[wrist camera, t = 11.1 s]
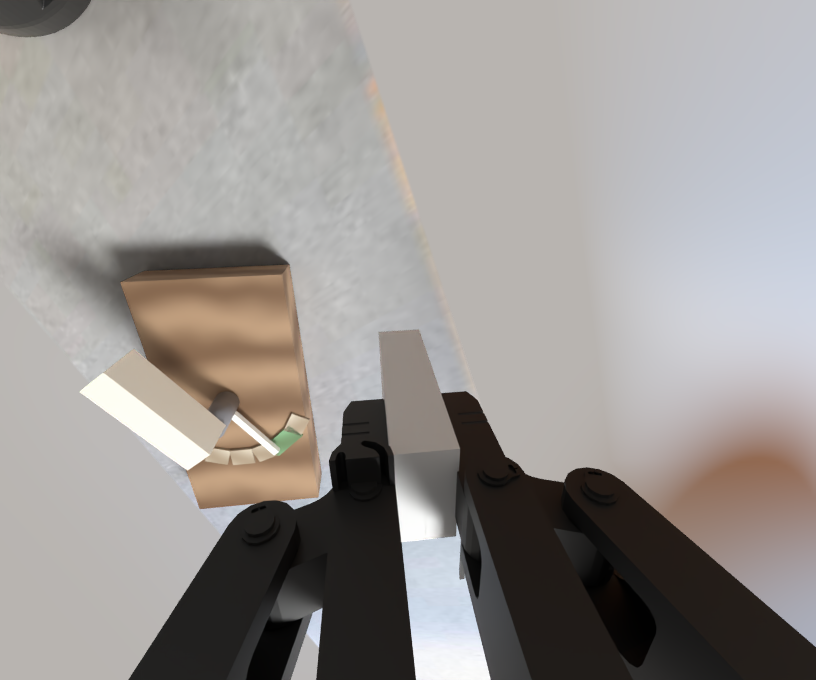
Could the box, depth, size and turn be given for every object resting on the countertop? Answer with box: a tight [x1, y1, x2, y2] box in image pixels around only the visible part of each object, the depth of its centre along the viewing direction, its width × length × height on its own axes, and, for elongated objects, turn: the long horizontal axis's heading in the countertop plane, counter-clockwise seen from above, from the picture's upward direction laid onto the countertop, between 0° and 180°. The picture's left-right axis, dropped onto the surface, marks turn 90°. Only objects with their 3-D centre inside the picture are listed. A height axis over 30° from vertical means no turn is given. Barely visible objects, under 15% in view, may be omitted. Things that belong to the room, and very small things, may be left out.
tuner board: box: [120, 264, 322, 509], centre depth 42 cm, size 28×14×4 cm, turn 1°
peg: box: [79, 349, 280, 471], centre depth 35 cm, size 17×3×9 cm, turn 35°
